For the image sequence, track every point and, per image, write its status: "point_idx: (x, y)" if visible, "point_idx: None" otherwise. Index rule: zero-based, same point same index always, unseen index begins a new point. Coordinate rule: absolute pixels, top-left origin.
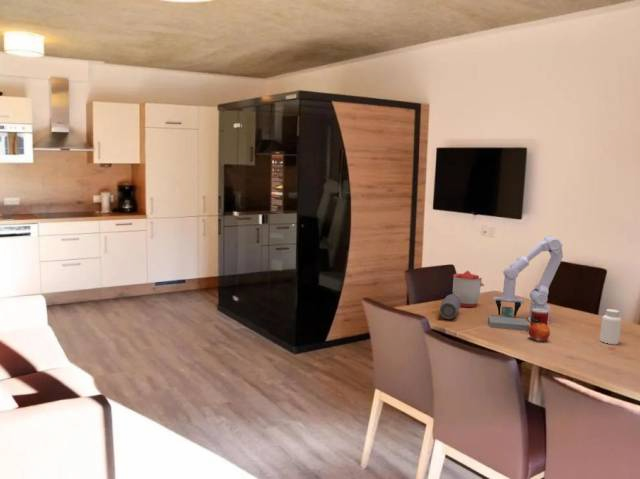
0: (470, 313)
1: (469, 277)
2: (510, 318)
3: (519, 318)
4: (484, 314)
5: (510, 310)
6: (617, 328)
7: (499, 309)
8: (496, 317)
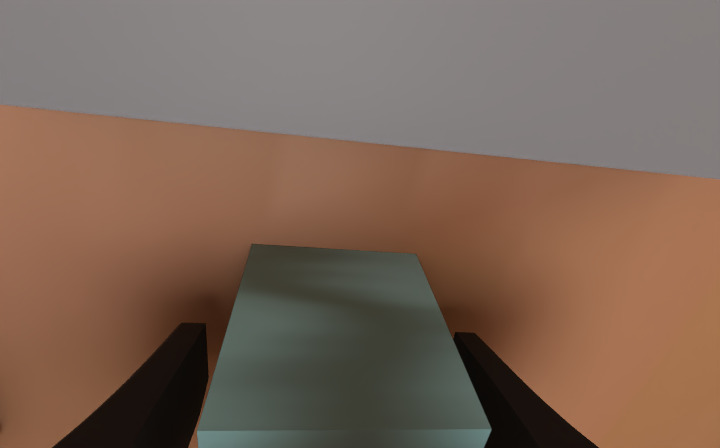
0: (708, 420)
1: None
2: (342, 33)
3: (78, 98)
4: None
5: (287, 396)
6: None
7: (540, 419)
8: (688, 57)
